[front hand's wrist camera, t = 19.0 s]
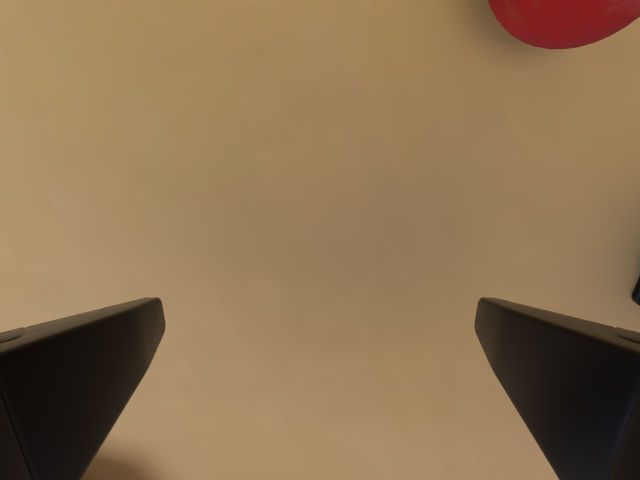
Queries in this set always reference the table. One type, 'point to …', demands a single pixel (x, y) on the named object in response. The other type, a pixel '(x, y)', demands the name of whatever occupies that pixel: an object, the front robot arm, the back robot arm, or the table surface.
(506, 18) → the eyeball
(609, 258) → the table surface
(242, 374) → the table surface
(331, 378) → the table surface
